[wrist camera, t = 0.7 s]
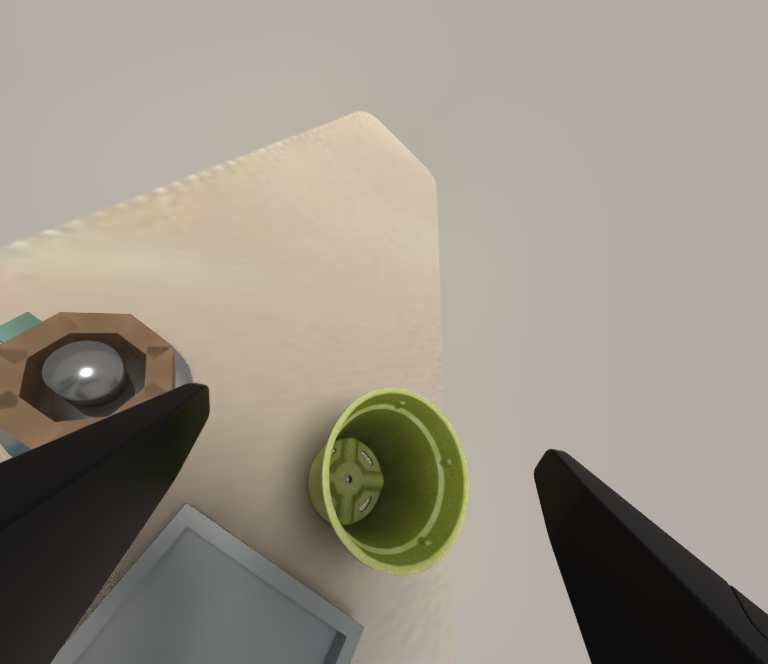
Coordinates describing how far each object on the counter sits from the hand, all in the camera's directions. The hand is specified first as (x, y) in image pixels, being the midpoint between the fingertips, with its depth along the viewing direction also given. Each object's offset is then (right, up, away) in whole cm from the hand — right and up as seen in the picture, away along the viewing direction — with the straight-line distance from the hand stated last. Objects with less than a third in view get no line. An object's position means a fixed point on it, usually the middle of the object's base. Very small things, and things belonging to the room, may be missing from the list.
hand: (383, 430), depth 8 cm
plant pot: (-3, -9, +16) cm, 19 cm away
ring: (-18, -1, +11) cm, 21 cm away
